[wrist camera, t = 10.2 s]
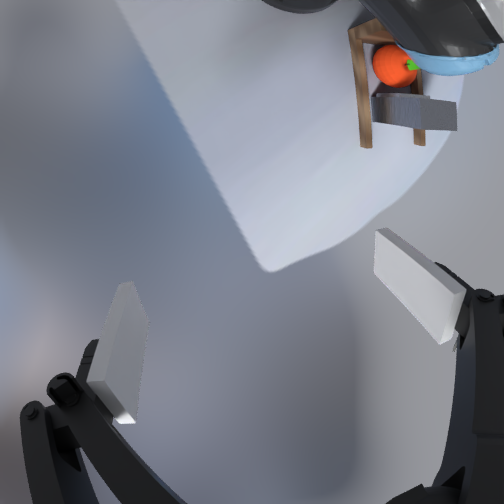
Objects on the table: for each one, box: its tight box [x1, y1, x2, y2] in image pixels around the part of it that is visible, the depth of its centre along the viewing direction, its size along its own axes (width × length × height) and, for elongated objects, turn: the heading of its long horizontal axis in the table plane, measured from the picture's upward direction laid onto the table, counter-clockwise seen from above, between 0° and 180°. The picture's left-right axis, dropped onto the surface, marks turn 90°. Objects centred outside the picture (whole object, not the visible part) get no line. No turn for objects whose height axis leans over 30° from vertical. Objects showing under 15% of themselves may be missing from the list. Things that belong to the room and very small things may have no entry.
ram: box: [371, 93, 457, 131], centre depth 34 cm, size 5×7×12 cm, turn 98°
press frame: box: [348, 18, 425, 148], centre depth 34 cm, size 19×12×9 cm, turn 8°
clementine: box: [372, 45, 420, 88], centre depth 34 cm, size 8×7×7 cm
